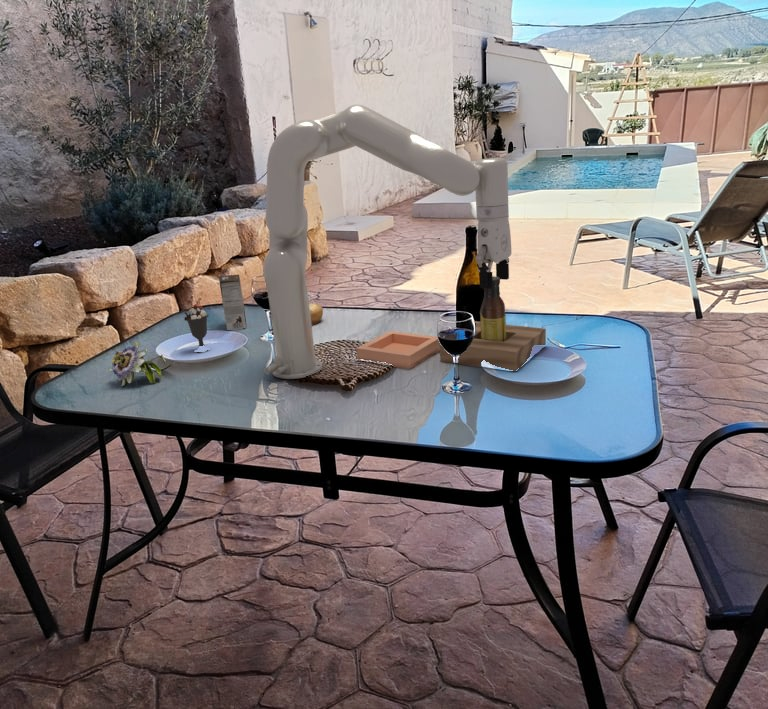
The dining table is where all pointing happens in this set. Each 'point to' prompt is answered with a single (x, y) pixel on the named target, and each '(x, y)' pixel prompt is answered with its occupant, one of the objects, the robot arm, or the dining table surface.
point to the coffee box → (232, 302)
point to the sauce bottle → (493, 314)
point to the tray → (399, 349)
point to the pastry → (315, 313)
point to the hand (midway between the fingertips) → (494, 283)
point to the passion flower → (133, 365)
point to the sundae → (197, 322)
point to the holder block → (500, 348)
